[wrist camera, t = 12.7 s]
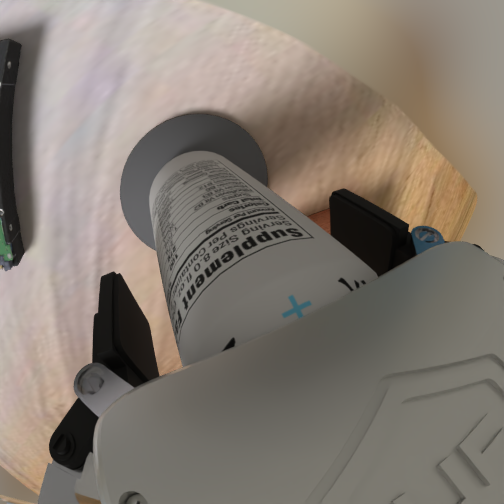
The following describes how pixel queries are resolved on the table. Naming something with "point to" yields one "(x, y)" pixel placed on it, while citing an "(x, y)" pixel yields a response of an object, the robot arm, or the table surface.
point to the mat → (172, 145)
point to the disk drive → (8, 158)
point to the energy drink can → (239, 256)
